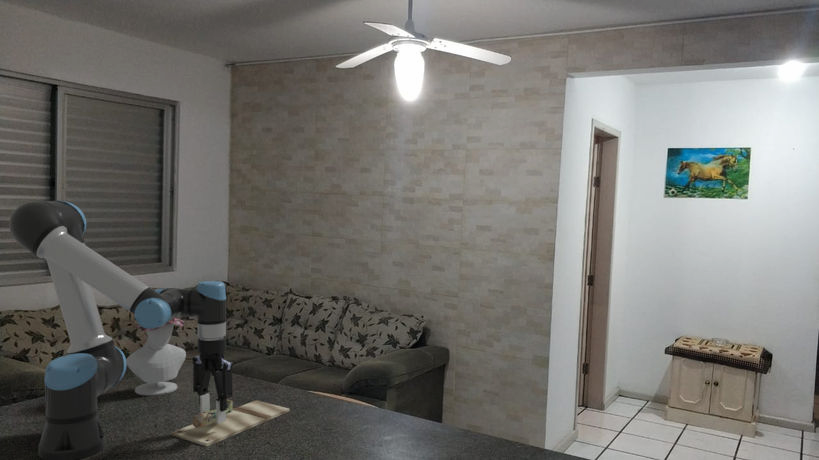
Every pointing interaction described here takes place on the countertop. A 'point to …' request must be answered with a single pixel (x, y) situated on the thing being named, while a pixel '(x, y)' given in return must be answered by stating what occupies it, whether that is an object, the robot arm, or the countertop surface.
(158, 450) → the countertop surface
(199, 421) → the figurine
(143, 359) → the bust with hat
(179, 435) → the board
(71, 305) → the robot arm
